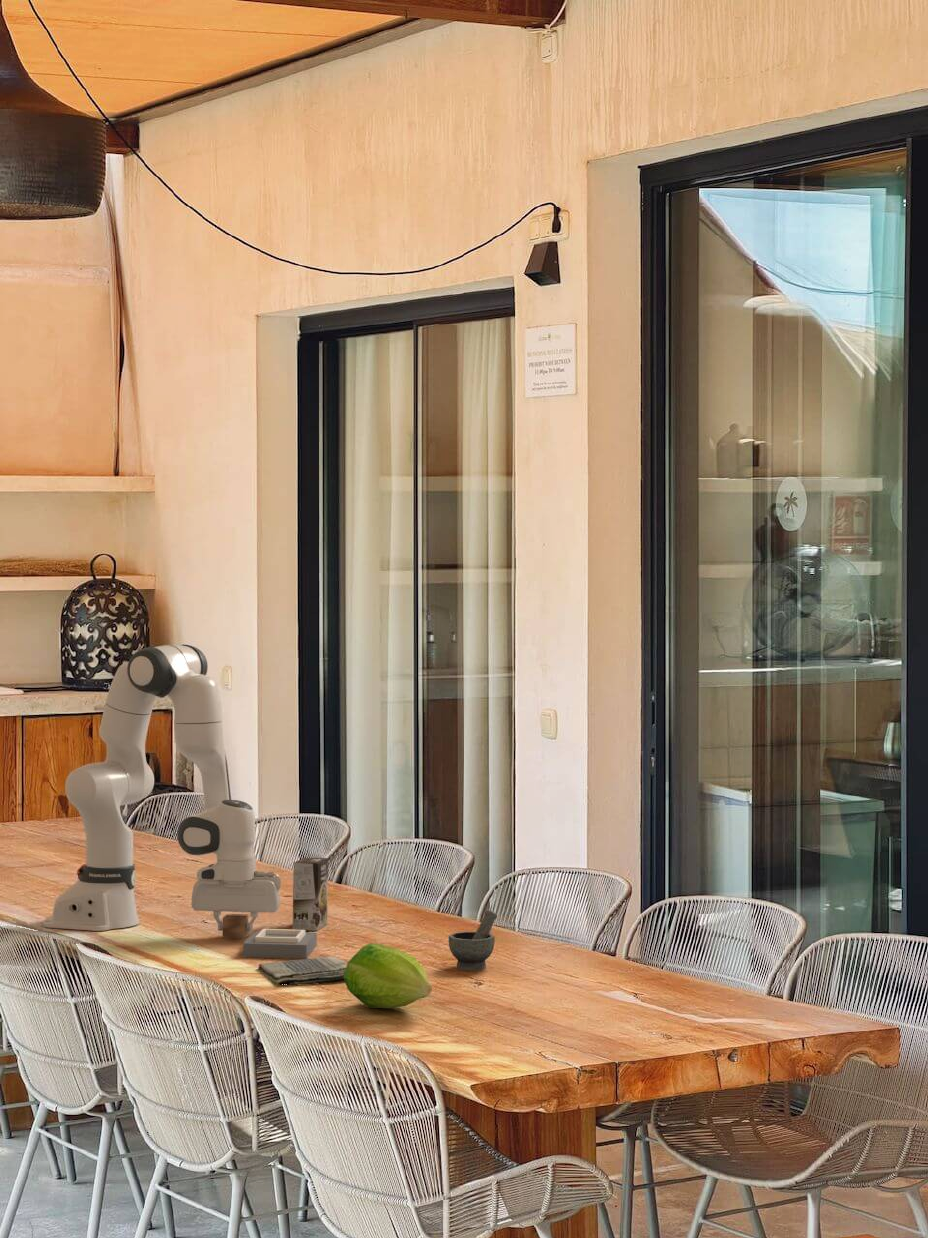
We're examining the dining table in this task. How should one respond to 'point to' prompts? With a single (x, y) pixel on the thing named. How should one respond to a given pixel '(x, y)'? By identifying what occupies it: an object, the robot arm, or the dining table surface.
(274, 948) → the plinth
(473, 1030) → the dining table surface
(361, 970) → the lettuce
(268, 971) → the dish towel
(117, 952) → the dining table surface
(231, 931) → the walnut block
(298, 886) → the coffee box
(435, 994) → the dining table surface
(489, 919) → the mortar and pestle
